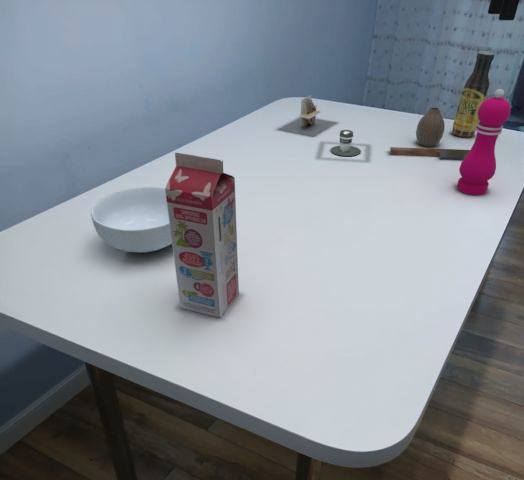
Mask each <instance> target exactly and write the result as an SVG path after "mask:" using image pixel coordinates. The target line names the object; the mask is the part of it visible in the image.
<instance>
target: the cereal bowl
mask: <svg viewBox="0 0 524 480" xmlns="http://www.w3.org/2000/svg"><path fill="white" fill-rule="evenodd" d="M165 188H166V187H161V186H138V187H131V188H130V187H129V188H126V189H121V190H118V191H115V192H114V191H113V192H112V193H109V194H106V195H105V196H103V197H100V199H98V200H97V201H96V202H95V203H94V204H93V205H92V207H91V209H90V217H91V221H92V224H93V226H94V230H95V231H96V234H97V235H98V236H99V238H100V239H101V240H102V241H103V242H104V243H106V245H108V246H110V247H112V248H115V249H116V250H119V251H123V252H127V253H139V254H145V253H153V252H156V251H159V250H160V249H164V248H166V247H168V246H171V245H172V238H171V230H170V223H169V215H168V207H167V200H166V192H165Z"/></svg>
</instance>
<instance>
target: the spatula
mask: <svg viewBox="0 0 524 480" xmlns="http://www.w3.org/2000/svg"><path fill="white" fill-rule="evenodd" d="M470 150H471V149H458V148H457V149H454V148H425V147H423V148H422V147H401V146H400V147H399V146H397V147H395V146H391V147H390V146H389V154H390V155H391V156H392V155H393V156H419V157H421V156H422V157H438V158H439V159H440V160H448V161H449V160H450V161H463V159H464V157H465V156H466V155H467V154H468V152H469V151H470Z"/></svg>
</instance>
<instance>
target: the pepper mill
mask: <svg viewBox="0 0 524 480" xmlns="http://www.w3.org/2000/svg"><path fill="white" fill-rule="evenodd" d="M504 96H505V90H503V88H499V89H496V90H495V91H494V93H493V96H492V97H488V98H486V99H485V101H484V102H482V104H481V105H480V107H479V109H478V113H477V114H478V119H479V122H478V123H477V128H476V131H475V132H476V136H475V139H474V142H473V145H472V146H471V148H470V149H469V150H470V151H469V152H468V154H467V155H466V156H465V157H464V159H463V160H461V163H460V166H459V167H458V171H459V174H460V176H461V177H459V178H458V181H457V185H456V190H458V191H459V192H461V193H462V194H466V195H471V196H481V195H485V194H486V193H487V192H488V190H489V189H488V188H489V185H490V183H489V182H488V181H490V180H491V179H493V177H494V176H495V174H496V170H497V160H496V153H495V151H496V150H495V149H496V143H497V140H498V138H499V135H501V134H502V133H503V132H502V131H503V129H504V125H503V124H504V123H506V122H507V120H508V119H509V117H510V115H511V112H512V111H511V110H512V108H511V104H510V102H509V101H508V100H507V99H506V98H504Z"/></svg>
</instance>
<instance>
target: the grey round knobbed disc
mask: <svg viewBox="0 0 524 480" xmlns="http://www.w3.org/2000/svg"><path fill="white" fill-rule="evenodd" d="M353 138H354V131H352V130H350V129H341V130H340V132H339V145H335V146H332V147H331V148H330V149H329V150H330V153H331V154H333V155H335V156H339V157H355V156H358V155H360V154H361V152H362V150H361V149H360V148H359V147H357V146H353V145H352V142H353Z"/></svg>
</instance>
